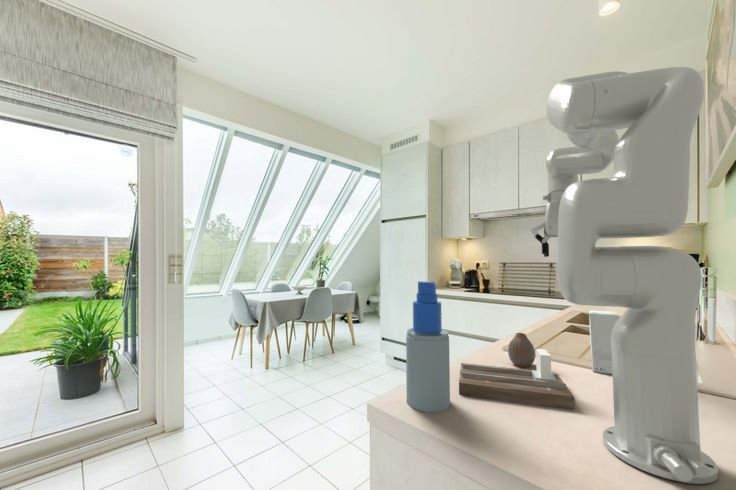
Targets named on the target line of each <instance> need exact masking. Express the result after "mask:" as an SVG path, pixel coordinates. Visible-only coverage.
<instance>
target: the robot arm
mask: <svg viewBox="0 0 736 490" xmlns="http://www.w3.org/2000/svg"><path fill="white" fill-rule="evenodd" d="M704 98H705V83H704V80H703V77H702V76H701V75H700V73H699V72H698V71H697V69H696V70H695V69H694V68H692V67H687V66H673V67H663V68H657V69H648V70H642V71H636V72H630V73H628V72H625V71H617V70H615V71H607V72H600V73H599V72H598V73H595V74H594V73H593V74H588V75H583V76H582V75H581V76H574V77H570V78H565V79H562V80H560V81H559V82H558V83H556V84H555V85H554V86H553V88H552V90H551V91H550V93H549V96H548V98H547V104H546V117H547V120H548V121H549V123H550V125H552V127H554V128H556V129H557V130H559V131H561V132H562V133H564V134H566V135H567V138H568V140H569V141H570V142H571V143H572V144H574V145H575V146H569V147H560V148H555V149H553V150H551V151H550V153H549V154H548V155H547V157H546V160H545V168H546V171H547V190H548V192H547V194H546V195H543V196H542V201H546V202H547V203H546V205H545V208H544V209H545V210H544V217H543V218H544V219H543V223H541V224H538V225H537V226H535V227H532V228H531V230H530V232H531V233H532V235H533V236H534V238H535V239H536V240H537V241H538V242H540V244H541V254H542V255H543V257H545V258H547V257H550V247H549V246H550V244H549V242H548V241H549V239H551V238H558V240H557V241H558V245H557V279H558V286H559V287H558V288H559V291H560V294H561V295H562V297H563V298H564V299H565V300H566V301H567V302H570V303H571V304H574V305H580V306H591V307H592V306H593V307H615V308H616V307H619V308H627V309H626V310H625V311H624V312H623V313H622V314H621V316H619V319H618V321H617V322H616V323H615V325H614V327H613V330H612V334H611V350H612V393H613V395H612V396H613V417H614V421H613V422H614V425H612V426H609V427H606V429H604V431H602V440H603V441H602V442H603V444H604V446H605V447H606V448H607V450H609V451H610V452H611V453H612V454H613V455H615V457H618V458H619V459H621V460H622V461H623V462H625V463H627V464H628V465H631V466H632V467H634V468H637V469H639V470H642V471H643V472H646V473H649V474H652V475H654V476H656V477H660V478H663V479H666V480H671V481H675V482H679V483H685V484H694V485H703V484H705V485H707V484H709V483H714V482H715V481H717V480H718V478H719V469H718V465H717V463H716V462H715V460H714V459H712V457H710V456H709V455H708V454H707V453H705V452H704V451H702V450H701V434H700V433H701V431H700V417H699V416H700V414H699V399H698V396H699V395H698V377H697V359H696V357H697V356H696V334H695V333H696V332H695V331H696V316H697V315H696V314H697V308H698V303H699V297H700V294H701V287H702V283H703V281H702V271H701V267H700V265H699V263H698V262H697V260H696V259H695V258H694V257H693V256H692V255H691V254H689V253H687V252H685V251H683V250H680V249H678V248H674V247H669V246H660V245H659V246H658V245H656V246H655V245H631V246H629V245H623V246H596V243H598V241H599V240H600V239H632V238H633V239H635V238H655V237H664V236H669V235H672V234H675V233H677V232H679V231H680V230H681V229H682V228H683V227H684V225H685V223H686V220H687V216H688V209H689V192H690V191H689V189H690V188H689V187H690V166H691V165H690V164H691V163H690V160H691V153H690V152H691V150H690V149H691V139H692V135H693V130H694V128H695V125H696V123H697V120H698V117H699V115H700V112H701V109H702V105H703V102H704ZM624 129H627V130H625V132H624V133H623V134H622V136H621V137H620V138H619V136H618V133H617V130H624ZM612 162H613V174H612V177H603V178H602V177H601V178H589V179H582V180H579V175H589V174H598V173H601V172H603V171H604V170H606V169H607V168H608V167H609V166H610V165H611V164H612ZM542 229H543V234H544V236H542V235H540V234H539V231H540V230H542Z"/></svg>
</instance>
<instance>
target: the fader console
mask: <svg viewBox="0 0 736 490" xmlns="http://www.w3.org/2000/svg"><path fill="white" fill-rule="evenodd" d="M551 373H552V374H553V375H554V377H555V378H556V380H557V382H549V381H540V380H534V378H533V376H532V369H523V368H512V367H505V366H504V367H503V366H494V365H483V364H474V363H467V362H466V363H465V362H460V370H459V380H458V395H461V396H462V395H463V396H471V397H478V398H485V399H494V400H500V401H507V402H515V403H522V404H528V405H529V404H530V405H538V406H544V407H546V406H547V407H553V408H560V409H568V410H575V409H576V407H575V406H576V405H575V396H574V394H573V393H572V391H571V390H570V388H569V387H568V386H567V383H565V382H564V381H563V379H562V378H561V377H560V375H559V373H557V372H552V371H551ZM575 411H576V410H575Z"/></svg>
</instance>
